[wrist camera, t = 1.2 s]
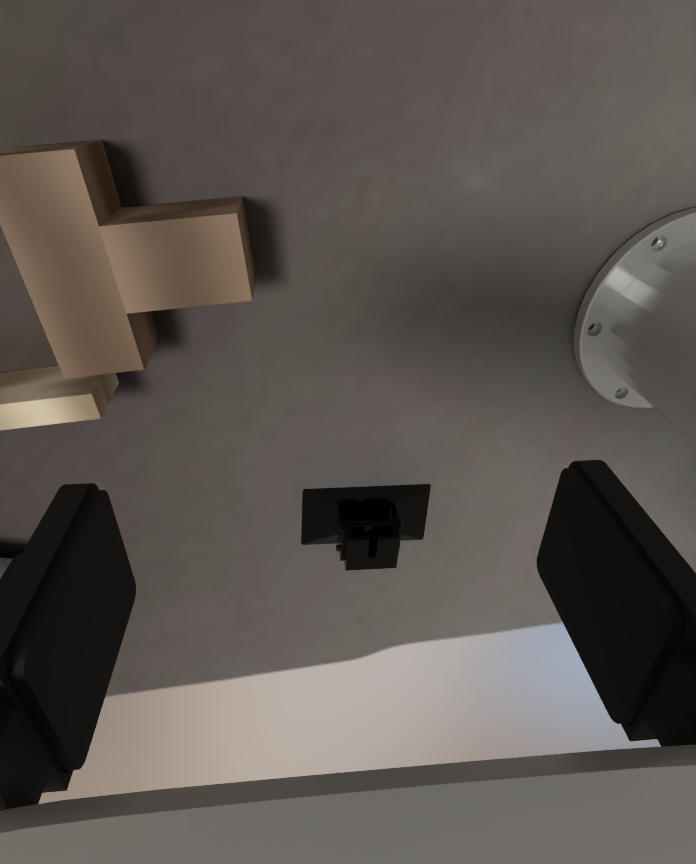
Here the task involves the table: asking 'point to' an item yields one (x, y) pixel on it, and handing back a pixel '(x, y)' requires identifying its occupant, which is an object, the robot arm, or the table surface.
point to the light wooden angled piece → (52, 397)
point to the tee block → (113, 255)
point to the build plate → (365, 521)
